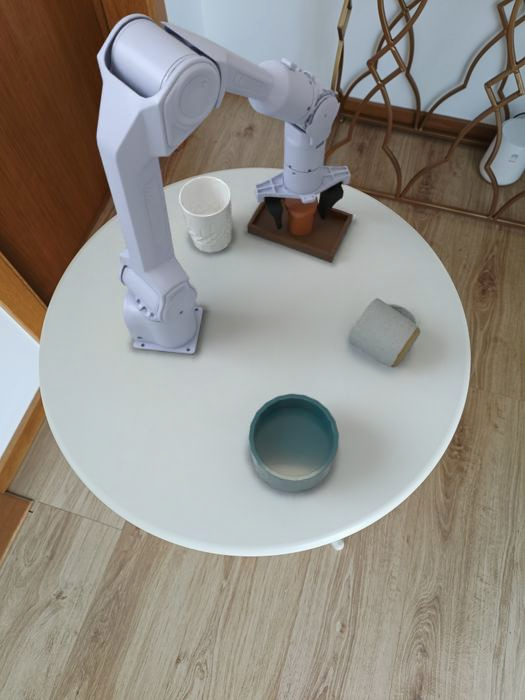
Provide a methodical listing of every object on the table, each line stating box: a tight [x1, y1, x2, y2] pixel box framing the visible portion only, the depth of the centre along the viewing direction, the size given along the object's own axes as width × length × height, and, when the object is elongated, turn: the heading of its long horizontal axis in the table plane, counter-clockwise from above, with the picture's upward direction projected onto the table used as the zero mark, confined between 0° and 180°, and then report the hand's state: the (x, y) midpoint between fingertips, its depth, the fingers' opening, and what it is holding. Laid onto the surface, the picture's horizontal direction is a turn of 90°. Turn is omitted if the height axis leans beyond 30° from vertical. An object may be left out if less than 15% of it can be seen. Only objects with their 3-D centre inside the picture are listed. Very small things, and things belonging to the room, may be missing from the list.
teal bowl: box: [248, 393, 340, 493], centre depth 70 cm, size 11×11×8 cm
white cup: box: [178, 175, 233, 254], centre depth 85 cm, size 8×8×10 cm
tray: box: [246, 197, 354, 264], centre depth 89 cm, size 15×9×2 cm, turn 65°
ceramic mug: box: [347, 297, 421, 368], centre depth 78 cm, size 11×8×8 cm
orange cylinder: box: [285, 195, 319, 236], centre depth 87 cm, size 5×5×6 cm
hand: (300, 219), depth 89 cm, fingers open, 7 cm apart
